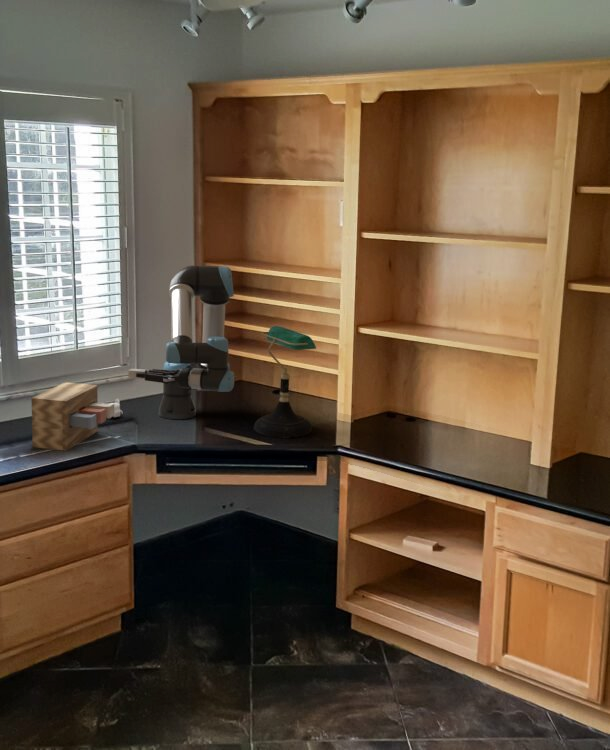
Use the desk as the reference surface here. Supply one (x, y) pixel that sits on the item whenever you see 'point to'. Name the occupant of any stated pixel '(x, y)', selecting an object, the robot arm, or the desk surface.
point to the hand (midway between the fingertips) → (130, 373)
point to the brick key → (99, 413)
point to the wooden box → (61, 415)
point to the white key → (108, 408)
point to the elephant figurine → (115, 408)
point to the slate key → (82, 420)
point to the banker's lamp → (285, 390)
